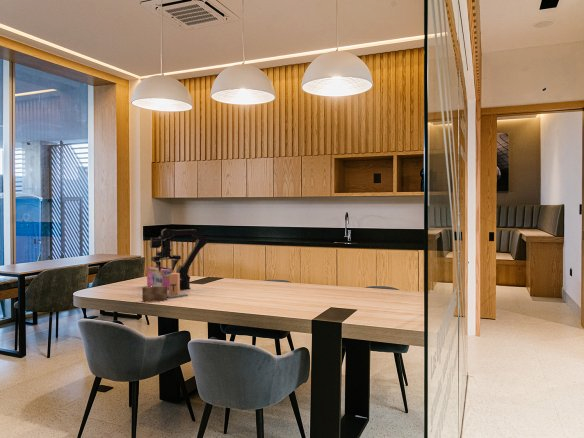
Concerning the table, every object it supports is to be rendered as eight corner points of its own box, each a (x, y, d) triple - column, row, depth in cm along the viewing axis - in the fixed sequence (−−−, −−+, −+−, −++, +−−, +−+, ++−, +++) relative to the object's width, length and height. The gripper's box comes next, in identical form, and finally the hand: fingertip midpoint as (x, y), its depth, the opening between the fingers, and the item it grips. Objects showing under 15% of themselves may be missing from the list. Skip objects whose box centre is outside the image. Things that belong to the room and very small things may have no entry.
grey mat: (179, 293, 291) (179, 291, 291) (187, 295, 282) (187, 294, 282) (161, 295, 284) (161, 293, 284) (169, 298, 275) (169, 296, 275)
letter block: (171, 293, 286) (171, 272, 285) (179, 293, 285) (179, 272, 285) (169, 294, 280) (169, 274, 280) (177, 294, 280) (177, 274, 280)
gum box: (145, 285, 322) (145, 266, 322) (155, 284, 328) (155, 265, 327) (162, 289, 305) (162, 269, 305) (173, 288, 311) (173, 268, 311)
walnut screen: (167, 298, 273) (166, 285, 273) (167, 300, 268) (167, 286, 268) (142, 300, 269) (142, 286, 269) (142, 301, 264) (142, 288, 264)
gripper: (174, 246, 314) (174, 268, 315) (148, 247, 303) (148, 270, 303) (181, 247, 306) (181, 270, 306) (154, 248, 294) (154, 272, 294)
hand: (166, 270), depth 303 cm, fingers open, 9 cm apart
